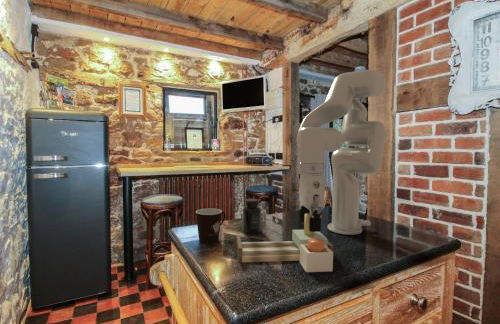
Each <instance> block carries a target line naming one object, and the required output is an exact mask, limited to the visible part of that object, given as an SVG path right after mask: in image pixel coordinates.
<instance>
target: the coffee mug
mask: <svg viewBox="0 0 500 324" xmlns="http://www.w3.org/2000/svg"><path fill="white" fill-rule="evenodd" d="M222 214H223V219H222ZM195 216H196V226H197V234H198V235H197V236H198V242H199V243H200V244H204V245H213V244H216V243H218V242H219V239H220V238H219V237H220V233H221V232H220V230H221V226H222V225H223V224H224V222H225V220H226V212H225V211H223V210H222V209H220V208H219V209H218V208H210V207H209V208H201V209H197V210H196V211H195Z"/></svg>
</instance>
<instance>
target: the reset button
mask: <svg viewBox="0 0 500 324" xmlns="http://www.w3.org/2000/svg"><path fill="white" fill-rule="evenodd" d="M308 251H309V252H324V241H323V240H321V239H316V238H312V239H309V240H308Z"/></svg>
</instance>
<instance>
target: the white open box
mask: <svg viewBox="0 0 500 324" xmlns="http://www.w3.org/2000/svg"><path fill="white" fill-rule="evenodd" d="M299 264H300V265H301V267H302V268H303V270H304V272H305V273H318V272H319V273H320V272H321V273H323V272H333V271H334V270H333V269H334V251H333V252H332V251H331V250H330V249H329V248H328V247H327V246H326V245H325V244H324V252H309V251H308V244H304V245H300V261H299Z"/></svg>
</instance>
